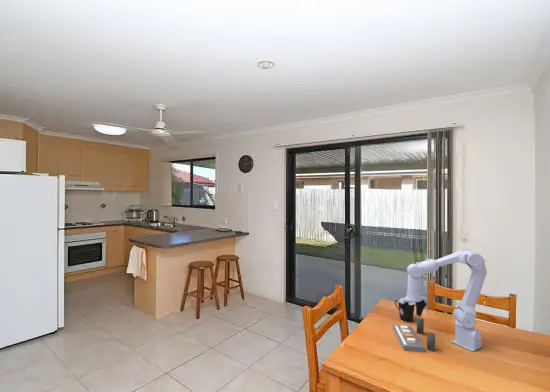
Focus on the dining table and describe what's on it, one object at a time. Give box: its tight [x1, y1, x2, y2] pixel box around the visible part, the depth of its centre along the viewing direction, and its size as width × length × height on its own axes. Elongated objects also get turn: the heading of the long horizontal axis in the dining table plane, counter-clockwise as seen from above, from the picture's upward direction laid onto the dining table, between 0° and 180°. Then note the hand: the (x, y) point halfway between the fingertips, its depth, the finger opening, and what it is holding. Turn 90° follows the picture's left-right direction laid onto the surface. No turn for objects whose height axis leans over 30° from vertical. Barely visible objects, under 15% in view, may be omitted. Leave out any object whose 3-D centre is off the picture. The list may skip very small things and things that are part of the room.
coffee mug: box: [394, 299, 416, 323], centre depth 157 cm, size 12×9×10 cm
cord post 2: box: [426, 332, 436, 353], centre depth 126 cm, size 3×3×7 cm
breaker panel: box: [392, 324, 426, 353], centre depth 135 cm, size 20×9×3 cm, turn 169°
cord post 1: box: [416, 317, 425, 335], centre depth 140 cm, size 3×3×7 cm
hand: (412, 316), depth 135 cm, fingers open, 7 cm apart
